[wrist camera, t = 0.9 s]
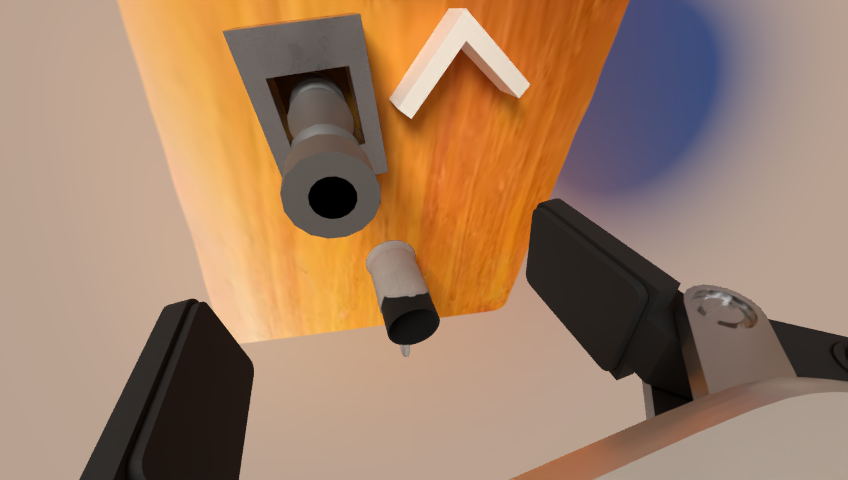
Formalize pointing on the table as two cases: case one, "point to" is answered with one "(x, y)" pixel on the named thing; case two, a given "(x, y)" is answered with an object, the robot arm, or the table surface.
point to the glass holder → (402, 294)
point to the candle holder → (326, 163)
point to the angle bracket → (440, 51)
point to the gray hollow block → (304, 52)
